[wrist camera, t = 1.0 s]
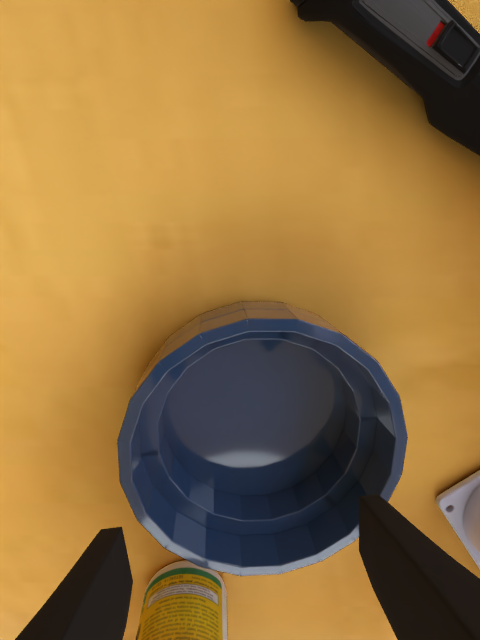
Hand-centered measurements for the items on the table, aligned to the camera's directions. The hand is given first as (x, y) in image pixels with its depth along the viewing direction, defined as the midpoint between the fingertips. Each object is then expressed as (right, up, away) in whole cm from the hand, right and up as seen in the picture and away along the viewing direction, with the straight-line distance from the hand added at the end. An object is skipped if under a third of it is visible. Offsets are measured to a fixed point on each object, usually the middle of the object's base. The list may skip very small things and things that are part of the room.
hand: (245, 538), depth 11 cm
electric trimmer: (+9, +19, +7) cm, 22 cm away
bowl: (+1, +1, +10) cm, 10 cm away
